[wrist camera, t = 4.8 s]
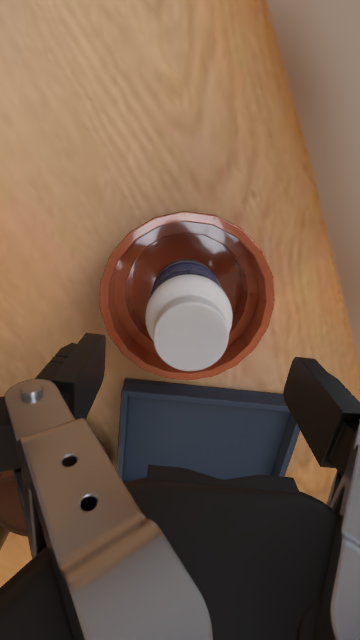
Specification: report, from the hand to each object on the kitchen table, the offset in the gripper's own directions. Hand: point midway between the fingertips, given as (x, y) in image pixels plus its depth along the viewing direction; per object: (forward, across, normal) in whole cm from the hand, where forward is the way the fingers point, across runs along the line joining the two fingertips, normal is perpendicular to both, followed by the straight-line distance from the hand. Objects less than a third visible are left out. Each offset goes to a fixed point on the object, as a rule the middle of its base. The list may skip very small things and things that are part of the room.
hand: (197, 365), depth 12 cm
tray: (+13, -4, +16) cm, 21 cm away
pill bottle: (+13, 0, 0) cm, 13 cm away
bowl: (+13, 0, 0) cm, 13 cm away
